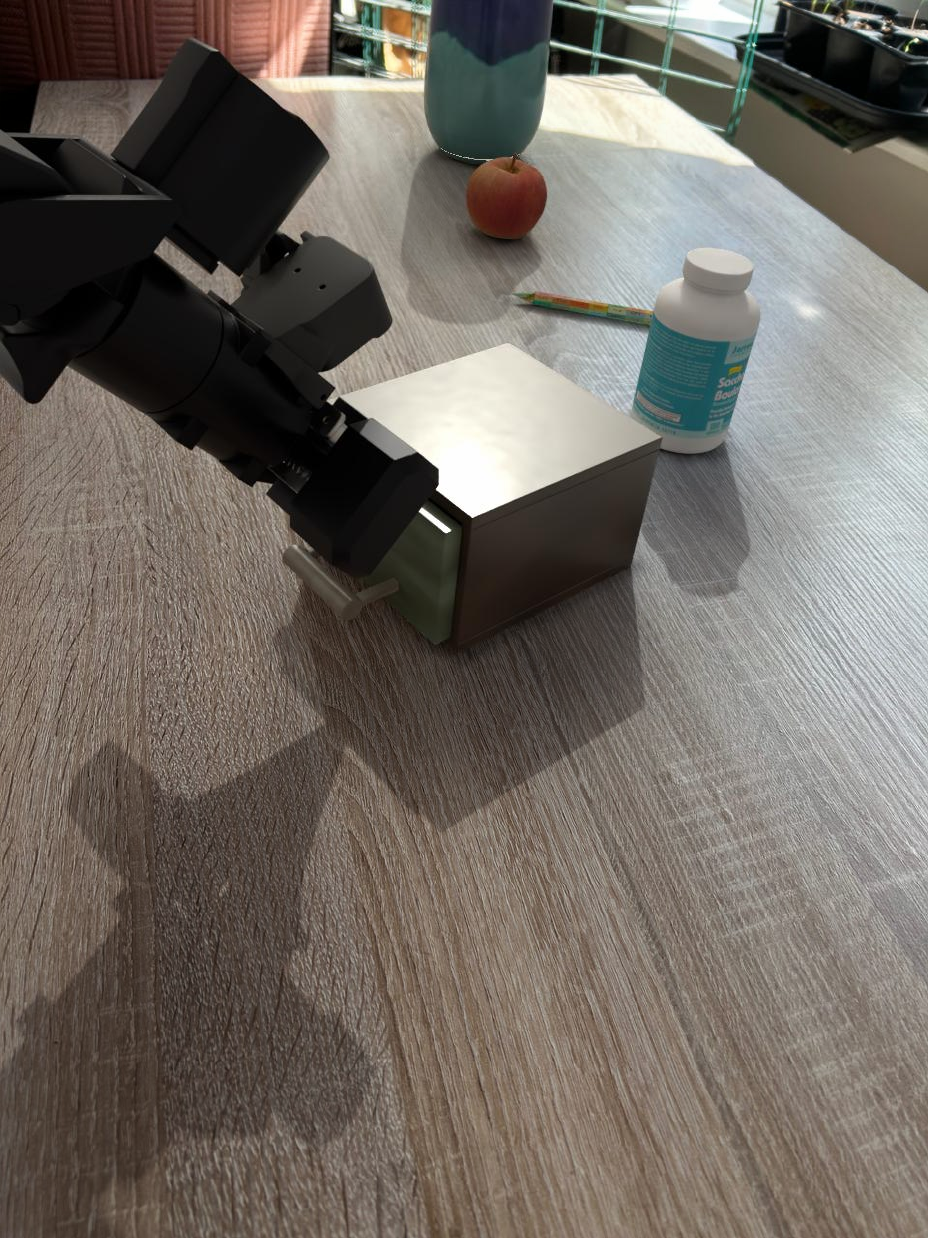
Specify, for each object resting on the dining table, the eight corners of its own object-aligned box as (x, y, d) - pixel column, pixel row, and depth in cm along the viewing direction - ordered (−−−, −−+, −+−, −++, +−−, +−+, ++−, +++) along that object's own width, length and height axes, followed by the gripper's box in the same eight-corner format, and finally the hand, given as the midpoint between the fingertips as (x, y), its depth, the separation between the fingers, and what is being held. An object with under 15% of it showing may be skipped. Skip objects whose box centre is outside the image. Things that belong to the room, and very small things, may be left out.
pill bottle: (717, 468, 78) (768, 292, 69) (619, 443, 79) (656, 268, 70) (731, 420, 83) (779, 252, 75) (639, 398, 85) (676, 230, 76)
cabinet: (456, 655, 60) (472, 518, 54) (321, 534, 68) (321, 401, 62) (631, 566, 68) (663, 437, 62) (493, 466, 75) (508, 341, 69)
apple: (543, 224, 111) (553, 144, 106) (539, 253, 105) (551, 170, 100) (466, 214, 111) (474, 134, 106) (459, 244, 105) (466, 160, 100)
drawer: (375, 675, 57) (380, 561, 52) (253, 556, 64) (247, 445, 59) (602, 562, 67) (625, 457, 62) (475, 469, 73) (486, 367, 68)
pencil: (510, 302, 96) (709, 337, 94) (511, 290, 95) (712, 325, 93) (512, 296, 97) (709, 330, 95) (514, 284, 96) (712, 319, 94)
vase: (396, 151, 124) (410, -182, 104) (464, 127, 133) (489, -184, 113) (495, 183, 119) (530, -161, 98) (558, 156, 128) (603, -165, 107)
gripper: (421, 280, 40) (579, 453, 53) (175, 130, 50) (359, 306, 63) (243, 518, 40) (442, 630, 53) (36, 323, 50) (246, 457, 64)
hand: (369, 492), depth 58 cm, fingers closed, pressing on drawer
